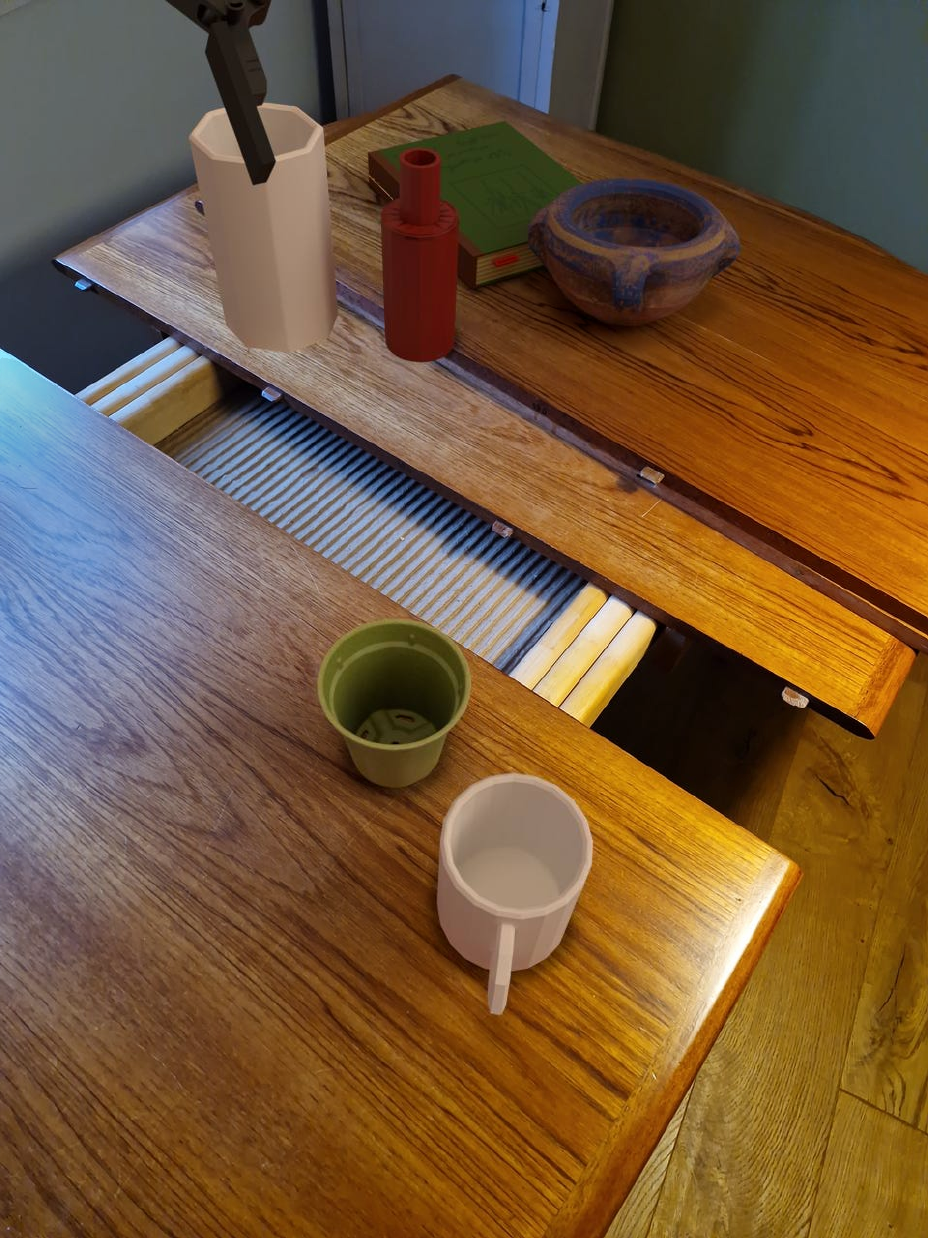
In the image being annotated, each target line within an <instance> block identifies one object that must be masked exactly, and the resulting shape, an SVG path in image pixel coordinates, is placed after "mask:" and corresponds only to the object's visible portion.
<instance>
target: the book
mask: <svg viewBox="0 0 928 1238" xmlns="http://www.w3.org/2000/svg"><path fill="white" fill-rule="evenodd" d="M413 148H425V149H431V150H433V151H435V152H437V153H438V154H439V156H440V157H441V186H440V199H441V200H444V201H447V202H448V203H450V204H451V205H452V206H453V207H455V208H456V210H457V212H458V215H459V241H458V268H457V277H459V278H460V279H461V280H462V282H464V283H465V284H466V285H467V287H469V289H471V290H474V289H479V288H482V287H485V286H488V285H492V284H495V283H498V282H502V281H505V280H508V279H511V278H515V277H518V276H522V275H526V274H528V273H531V272H535V271H538V270H542V269H546V267H545V266H544V265H543V263H542V262H541V261H540V260H539V258H538V257H537V256H536V255H535V254H534V253H533V251H532V250H531V249H530V246H529V243H528V238H527V225H528V224H529V222H530V221H531V219H532V218H533V216H534V215H535V213H536V212H537V211H539V210H540V209H542V208H544V207H545V206H547V205H548V204H549V203H551V202H552V201H553V200H555V199H556V198H557V197H558V196H559V195H561V194H562V193H563V192H564V191H566V190H569V189H571V188H573V187H575V186H578V185H582V184H584V182H582V181H581V180H579V179H578V178H577V177H575V176H574V175H573V174H572V173H570V172H569V171H568V170H567V169H565V168H564V166H562V165H561V164H560V163H558V162H557V161H555V159H553V158H552V157H551V156H549V155H548V154H547V153H546V152H545V151H544V150H542V149H541V148H539V146H537V145H536V144H535V143H534V142H533V141H531V140H530V139H529V138H527V137H526V136H525V135H523V134H522V133H521V132H520V131H519V130H517V129H516V128H515V127H514V126H513V125H512V124H510V123H509V122H507V120H502V121H498V122H493V123H489V124H485V125H480V126H476V127H472V128H468V129H464V130H459V131H454V132H450V133H446V134H442V135H438V136H433V137H429V138H425V139H424V138H423V139H419V140H415V141H411V142H407V143H403V144H398V145H393V146H389V147H385V148H381V149H377V150H372V151H369V152H367V163H368V164H367V165H368V184H369V186H370V187H371V188H372V189H373V190H374V191H375V192H376V193H377V194H378V195H379V196H380V197H381V198H382V200H384V201H385V202H386V203H387V204H388V203H390V202H391V201H393V200H395V199H399V198H400V184H399V157H400V155H401V153H402V152H404V151H406V150H408V149H413ZM369 175H370V176H371V177H372V178H374V179H375V181H376V182H378V183H379V185H380V186H381V187H382V188H383V189H384V190H385V191H386V192H387V193H388V194H389V195H390V197H392V198H393V200H392V199H391V198H390V197H389V196H388V195H387V194H386V193H385V192H384V191H383V190H382V189H381V188H380V187H379V186H378V185H377V184H376V183H375V182H374V181H373V180H372V179H371V178H370V177H369Z"/></svg>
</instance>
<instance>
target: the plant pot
mask: <svg viewBox="0 0 928 1238" xmlns="http://www.w3.org/2000/svg"><path fill="white" fill-rule="evenodd" d="M316 677H317V679H316V691H317V698H318V701H319V704H320V707H321V709H322V712H323V715H325V718H326V719H327V721H328V722H329V723H330V725H331V726H332V727H333V728H334V729H335V730H336V731H337V732H338V733H340V734H341V735H342V737H343V739H344V741H345V744H346V747H347V749H348V752H349V755H350V756H351V760H352V762H353V764H354V766H355V768H357V771H358V772H359V773H360V774H361V776H363V777H364V778H365V779H367V780H368V781H370V782H372V783H373V784H375V785H377V786H380V787H385V788H390V789H391V788H392V789H393V788H394V789H399V788H405V787H408V786H411V785H413V784H414V783H417V782H418V781H421V780H423V779H424V778H427V776H429V775H430V774H431V773H432V772H433V770H434V769H435V767H436V766H437V764H438V762H439V759H440V757H441V754H442V751H443V747H444V745H445V741H446V739H447V735H448V733H449V732H450V731H451V730H452V729H453V728H454V727H456V725H457V724H458V723H459V722H460V720H461V719H462V717H463V715H464V714H465V712H466V709H467V707H468V703H469V701H470V696H471V691H472V677H471V670H470V666H469V664H468V661H467V659H466V657H465V656H464V653H463V652H462V650H461V648H460V647H459V646H458V645H457V644H456V642H455V641H454V640H453V639H452V638H450V637H449V635H447V634H445V633H444V632H443V631H441V630H440V629H438V628H436V627H434V626H433V625H429V624H428V623H425V622H421V621H417V620H415V619H414V620H413V619H409V618H385V619H377V620H374V621H370V622H366V623H363V624H361V625H359V626H356V627H354V628H353V629H351V630H349V631H348V632H346V633H344V634H343V635H342V636H340V637H339V638H338V639H337V640H336V641H335V642H334V643H333V644H332V646H331V647H330V648H329V649H328V650H327V651H326V653H325V655H324V657H323V658H322V660H321V663H320V666H319V668H318V672H317V676H316ZM398 716H403V717H408V718H410V719H412V720H413V722H412V721H409V720H407V719H405V718H400V717H399V718H398ZM366 731H367V732H368V733H367V734H366V736H365V738H362V735H363V734H364V733H365V732H366ZM393 743H398V744H393Z"/></svg>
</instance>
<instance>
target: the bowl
mask: <svg viewBox="0 0 928 1238" xmlns="http://www.w3.org/2000/svg"><path fill="white" fill-rule="evenodd" d="M527 238H528V243H529V246H530V249H531V250H532V251H533V253H534V254H535V255H536V256H537V257H538V258H539V260H540V261H541V262H542V263H543V265H544V266H545V269H546V270H547V271H548V273H549V274H550V275H551V277H552V278H553V280H554V282H555V284H556V285H557V287H558V288H559V290H560V291H561V292H562V293H563V295H564V296H565V297H566V298H567V299H568V300H569V301H570V302H572V304H573V305H574V306H576V307H577V308H578V309H580V310H581V311H583V312H584V313H586V314H587V315H589V316H591V317H593V318H595V319H596V320H597V321H600V322H602V323H604V324H606V325H614V326H620V327H639V326H645V325H647V324H650V323H652V322H656V321H657V320H660V319H663V318H667V317H668V316H670V315H672V314H674V313H676V312H677V311H679V310H681V309H682V308H684V307H685V306H687V305H688V304H689V303H690V302H692V300H694V299H695V298H696V297H697V296H699V294H701V292H702V291H703V290H704V289H705V287H706V286H707V284H708V283H709V281H710V280H712V279H713V278H714V277H715V276H717V275H718V274H720V273H721V272H722V271H724V270H726V268H729V266H731V265H732V264H733V263H734V262H735V261H736V260H737V259H738V257H739V255H740V253H741V251H742V249H741V239H740V237H739V235H738V231H737V229H736V228H735V227H734V226H733V225H732V224H731V223H730V222H729V221H728V220H727V218H726V217H725V216H724V215H723V213H722V212H721V211H720V210H719V209H718V208H717V207H716V206H715V205H714V204H713V203H712V202H711V201H710V200H708V199H707V198H705V197H703V196H702V195H701V194H698V193H697V192H695V191H693V190H691V189H688V188H686V187H682V186H679V185H676V184H673V183H669V182H663V181H658V180H652V179H645V178H638V177H615V178H606V179H599V180H592V181H589V182H585V183H583V184H582V185H578V186H575V187H573V188H571V189H569V190H566V191H564V192H563V193H562V194H561V195H559V196H558V197H557V198H556V199H555V200H553V201H552V202H551V203H549V204H548V205H547V206H545V207H544V208H542V209H540V210H539V211H537V212H536V213H535V215H534V216H533V218H532V219H531V221H530V222H529V224H528V225H527Z"/></svg>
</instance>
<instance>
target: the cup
mask: <svg viewBox="0 0 928 1238" xmlns="http://www.w3.org/2000/svg"><path fill="white" fill-rule="evenodd" d="M257 109H258V112H259V114H260V117H261V120H262V123H263V126H264V128H265V131H266V134H267V137H268V140H269V143H270V145H271V148H272V151H273V154H274V157H275V159H276V163H275V165H274V168H273V170H272V172H271V174H270V176H269V178H268V180H267V182H266V183H262V184H257V185H253V184H252V182H251V179H250V176H249V173H248V171H247V168H246V165H245V162H244V160H243V157H242V154H241V151H240V149H239V146H238V143H237V140H236V137H235V135H234V132H233V129H232V126H231V124H230V121H229V118H228V115H227V113H226V110H225V107H222V108H217V109H214V110H213V109H212V110H210V111H208V112H206V113H205V114H204V115H203V116H202V118H201V119H200V121H199V122H198V124H197V125H196V126H195V127H194V129H193V130H192V132H191V133H190V134H189V136H188V139H189V146H190V149H191V155H192V159H193V165H194V169H195V175H196V179H197V185H198V189H199V195H200V200H201V205H202V209H203V215H204V220H205V227H206V230H207V235H208V241H209V245H210V250H211V255H212V260H213V266H214V270H215V275H216V280H217V286H218V290H219V296H220V299H221V306H222V311H223V315H224V321H225V325H226V327H227V328H228V329H229V331H231V333H232V334H233V335H234V336H235V337H236V338H237V339H238V341H240V342H241V343H242V344H243V346H244V347H246V348H249V349H256V350H261V351H262V350H263V351H270V352H277V353H284V354H291V353H294V352H297V351H299V350H302V349H304V348H307V347H310V346H313V345H315V344H318V343H320V342H323V341H326V340H327V339H328V338H329V337H330V335H331V332H332V330H333V328H334V326H335V324H336V321H337V318H338V316H339V305H338V294H337V293H338V292H337V291H338V290H337V282H336V269H335V268H336V267H335V255H334V254H335V253H334V243H333V242H334V241H333V231H332V219H331V207H330V196H329V194H330V193H329V185H328V184H329V183H328V182H329V181H328V170H327V158H326V146H325V145H326V144H325V135H324V133H325V132H324V127H323V126H322V125H320V124H319V123H318V122H316V121H315V119H313V118H312V117H311V116H309V115H308V114H307V113H305V112H304V111H303V110H302V109H300V108H299V107H298V106H295V105H286V104H279V103H270V102H263V104H262V106H257Z"/></svg>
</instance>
